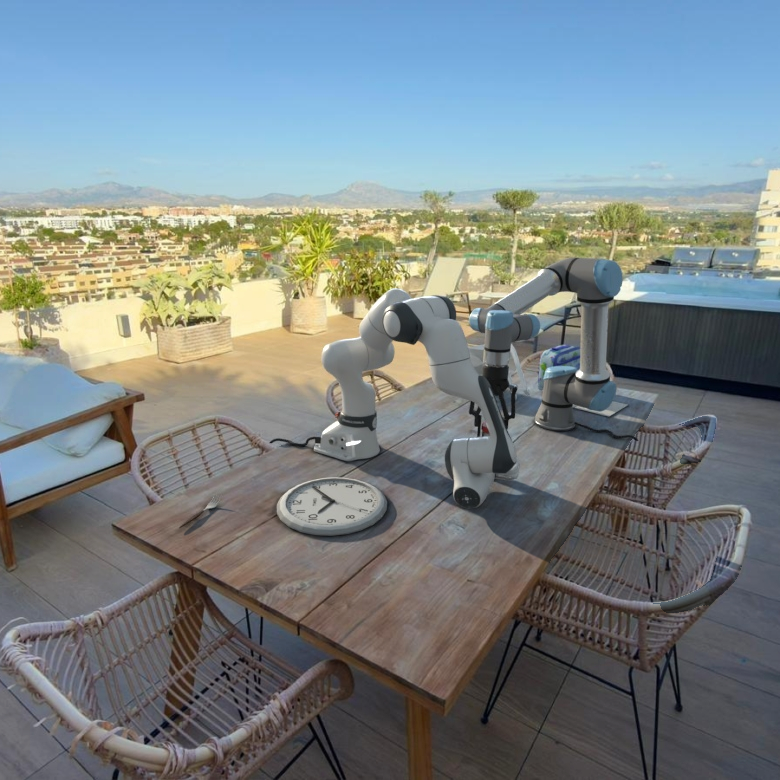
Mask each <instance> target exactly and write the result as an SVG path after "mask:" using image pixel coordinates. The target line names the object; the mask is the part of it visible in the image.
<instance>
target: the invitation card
mask: <svg viewBox="0 0 780 780" xmlns="http://www.w3.org/2000/svg"><path fill="white" fill-rule="evenodd" d="M628 406H629V404H627V403H623V402H618V401H614V400H613V401H612V403H611V404H610V406H609V407H608V408H607V409H606V410H604V411H601V412H599V411H594V410H589V409H587V408H584V407H580V406H577V405H575V406H574V407H573V409H575V410H581V411H584V412H587V413H593V414H596V415H600V416H604V417H608V418H609V417H611V416H613V415H614V414H616V413H617V412H619V411H621V410H623V409H624V408H626V407H628Z"/></svg>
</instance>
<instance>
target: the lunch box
mask: <svg viewBox="0 0 780 780" xmlns="http://www.w3.org/2000/svg"><path fill="white" fill-rule="evenodd" d="M554 366H572V367H575V368H577V371H578V370H579V369H580V346H574V345H570V344H569V345H568V344H560V345H558V346H555V347H551V348H549V349H546V350H544V351H543V352H542V353H541V355H540V358H539V365H538V377H537V389H538V390H539V391H543V382H544V379H543V378H544V374H545V371H546V369H547V368H550V367H554Z"/></svg>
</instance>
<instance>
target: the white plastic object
mask: <svg viewBox="0 0 780 780" xmlns="http://www.w3.org/2000/svg"><path fill="white" fill-rule="evenodd" d="M484 346H485V343H483V344H479V345H473V346H469V345H468V348H469V353H470V358H471V362H472V364H473V366H474V368H475V370H476V371H477V372H478V374H479V375H481V376H482V370H483V364H485V363H484V362H483V355H484ZM510 360H513V363H514V366H515V369H516V372H517V376H518V380H519V382H520V385H521V389H522V391H523V393H524V395H525V396H526V397H528V396H531V395H530V390H529V388H528V387H529V386H528V384H527V381H526V378H525V375H524V371H523V369H522V368H523V367H522V366H521V362H520V359H519V355H518V352H517V349H516V347H515V346H514V345H513V343H511V348H510ZM510 360H509V361H510ZM508 381H509V384H512V385H514V381H513V378H512V375H511V371H510V370H509V372H508ZM508 390H510V389H509V388H508ZM515 400H517V393H516V394H515Z"/></svg>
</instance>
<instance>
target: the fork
mask: <svg viewBox="0 0 780 780" xmlns="http://www.w3.org/2000/svg"><path fill="white" fill-rule="evenodd" d="M222 498H223V495H221V493H220V494H217V493H215V494H214V495H213V497H212V499H211V500H210V502H209V503H208V504H207V505H206V507H205V508H204V509H202V510H200V511H199V512H197V513H195V514H193V515H192V516H191V517H190V518H188V519H187V520H186V521H185V522H184V523H183V524H181V525H180V526H179V527H178V529H182V528H183V527H185V526H186V525H188V524H189V523H191V522H193V521H195V520H196V519H197V518H198V517H200V516H201V515H202V514H203V513H204V512H205V511H207V510H210V509H211V510H212V509H215V508H216V507H217V506H218V505H219V503H220V501H221V499H222Z"/></svg>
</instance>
